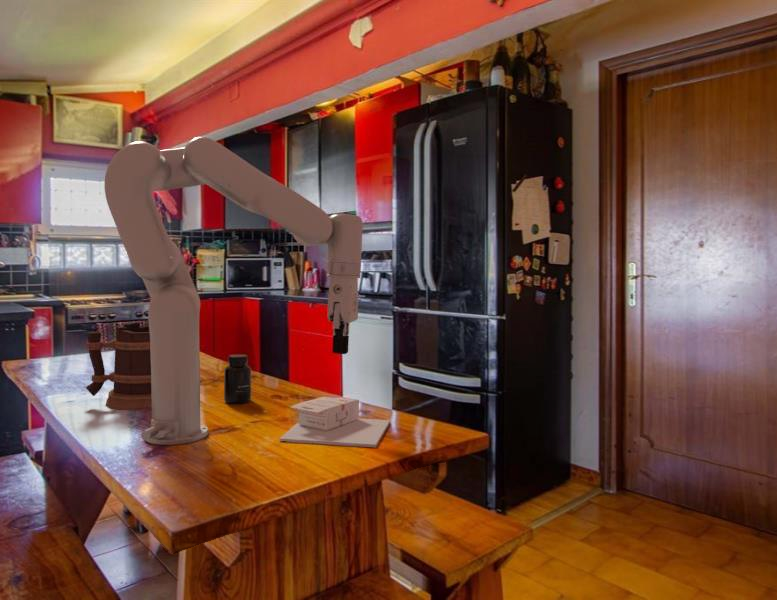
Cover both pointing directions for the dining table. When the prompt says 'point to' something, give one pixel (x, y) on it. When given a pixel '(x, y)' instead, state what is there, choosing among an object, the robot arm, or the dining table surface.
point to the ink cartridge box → (327, 412)
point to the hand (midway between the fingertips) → (340, 353)
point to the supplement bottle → (237, 380)
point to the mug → (124, 367)
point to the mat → (340, 433)
